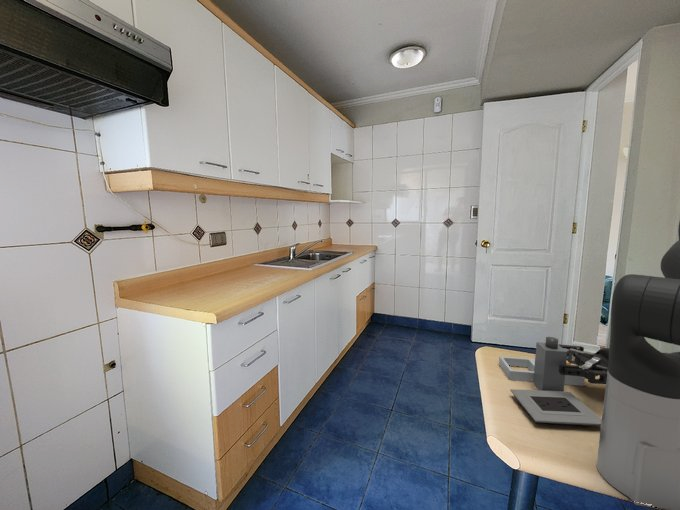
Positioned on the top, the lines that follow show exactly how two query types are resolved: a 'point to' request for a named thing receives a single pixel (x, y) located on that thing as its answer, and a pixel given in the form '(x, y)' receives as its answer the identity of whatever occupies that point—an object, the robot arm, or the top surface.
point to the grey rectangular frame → (529, 375)
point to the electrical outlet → (556, 407)
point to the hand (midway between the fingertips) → (550, 360)
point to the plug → (549, 365)
